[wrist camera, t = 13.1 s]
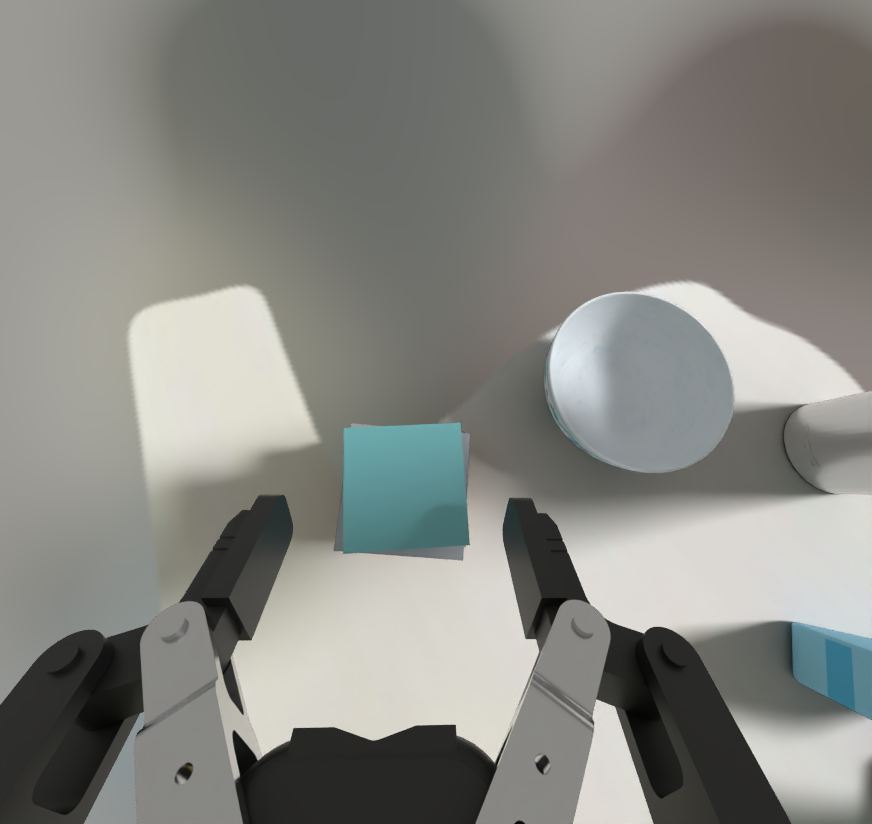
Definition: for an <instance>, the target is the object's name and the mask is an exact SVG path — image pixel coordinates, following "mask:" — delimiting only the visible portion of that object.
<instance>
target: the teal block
mask: <svg viewBox="0 0 872 824" xmlns="http://www.w3.org/2000/svg"><path fill="white" fill-rule="evenodd" d="M464 545H470V544H469V530H468V516H467V502H466V489H465V475H464V461H463V448H462V434H461V423H442V424H421V425H400V426H378V427H356V428H344V480H343V554H346V553H361V552H375V551H390V550H405V549H420V548H434V547H449V546H464Z"/></svg>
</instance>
